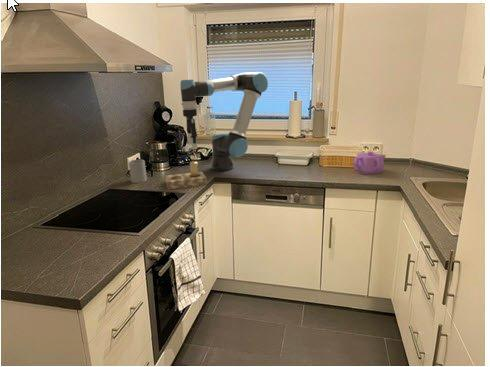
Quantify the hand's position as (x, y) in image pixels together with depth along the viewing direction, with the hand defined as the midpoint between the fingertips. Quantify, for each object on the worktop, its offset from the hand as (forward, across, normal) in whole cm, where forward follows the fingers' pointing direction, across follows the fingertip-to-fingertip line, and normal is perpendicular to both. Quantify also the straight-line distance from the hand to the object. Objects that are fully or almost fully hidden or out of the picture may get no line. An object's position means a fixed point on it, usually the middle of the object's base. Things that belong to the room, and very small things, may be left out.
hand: (192, 146), depth 199 cm
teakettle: (+22, +21, +104) cm, 109 cm away
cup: (+21, -17, -32) cm, 42 cm away
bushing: (+21, 0, 0) cm, 21 cm away
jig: (+21, 0, -6) cm, 22 cm away
